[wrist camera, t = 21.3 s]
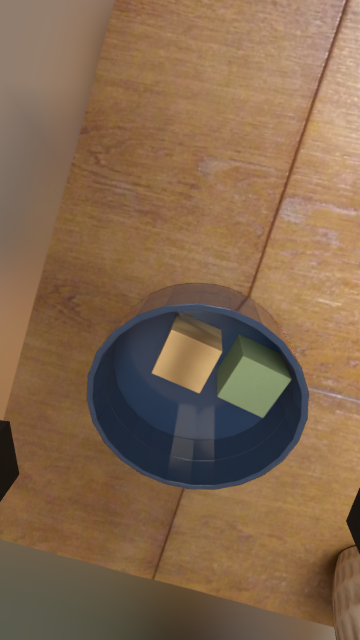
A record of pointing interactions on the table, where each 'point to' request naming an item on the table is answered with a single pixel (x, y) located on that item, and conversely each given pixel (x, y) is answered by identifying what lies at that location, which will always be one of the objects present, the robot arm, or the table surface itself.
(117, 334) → the navy round tub
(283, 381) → the sage block
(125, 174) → the table surface
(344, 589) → the vase
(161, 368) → the beech block
